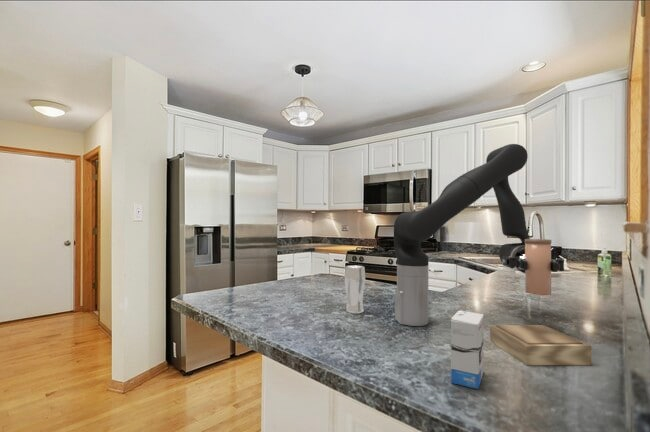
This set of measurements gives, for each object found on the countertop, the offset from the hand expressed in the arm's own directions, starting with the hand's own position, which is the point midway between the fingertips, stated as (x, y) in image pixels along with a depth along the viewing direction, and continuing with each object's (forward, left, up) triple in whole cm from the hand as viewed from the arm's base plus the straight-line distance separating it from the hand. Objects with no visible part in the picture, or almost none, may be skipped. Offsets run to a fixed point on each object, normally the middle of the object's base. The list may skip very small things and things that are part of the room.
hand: (540, 266), depth 75 cm
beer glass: (-39, +35, -20) cm, 56 cm away
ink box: (-23, -12, -20) cm, 33 cm away
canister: (+1, +2, -7) cm, 7 cm away
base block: (-1, 0, -20) cm, 20 cm away
